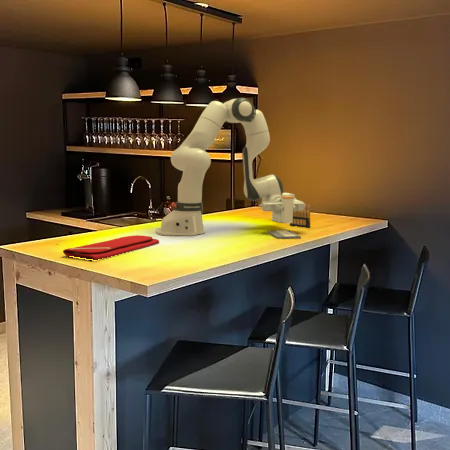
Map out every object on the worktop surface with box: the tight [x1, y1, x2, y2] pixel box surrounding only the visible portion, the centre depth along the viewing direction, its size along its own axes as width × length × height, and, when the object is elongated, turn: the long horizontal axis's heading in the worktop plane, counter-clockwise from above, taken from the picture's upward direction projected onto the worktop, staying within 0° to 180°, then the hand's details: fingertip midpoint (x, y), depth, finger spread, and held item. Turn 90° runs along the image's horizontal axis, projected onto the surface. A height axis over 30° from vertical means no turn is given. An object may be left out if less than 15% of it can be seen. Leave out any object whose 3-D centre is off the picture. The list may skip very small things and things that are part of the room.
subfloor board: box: [267, 229, 302, 240], centre depth 262 cm, size 11×15×1 cm
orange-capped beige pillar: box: [281, 196, 293, 224], centre depth 260 cm, size 4×4×12 cm
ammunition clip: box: [289, 203, 311, 229], centre depth 287 cm, size 11×2×12 cm, turn 57°
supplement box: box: [271, 192, 296, 224], centre depth 303 cm, size 9×9×15 cm
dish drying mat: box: [62, 234, 160, 260], centre depth 224 cm, size 16×41×4 cm, turn 152°
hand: (288, 208), depth 259 cm, fingers closed on orange-capped beige pillar, 4 cm apart
